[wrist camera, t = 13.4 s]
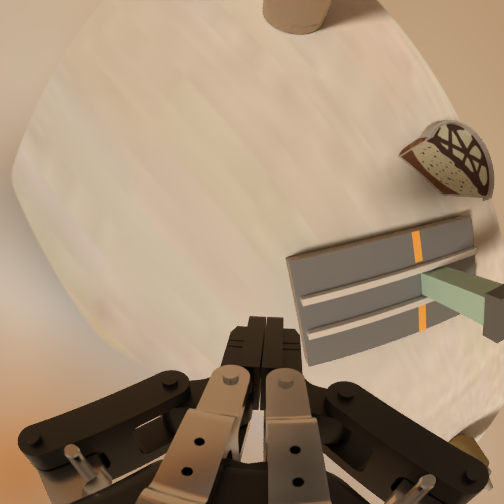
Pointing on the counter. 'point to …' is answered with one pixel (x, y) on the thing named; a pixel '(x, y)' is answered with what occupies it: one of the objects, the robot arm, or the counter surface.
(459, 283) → the fader tab
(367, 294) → the slider console
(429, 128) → the food container
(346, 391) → the robot arm
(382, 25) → the counter surface
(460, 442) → the squeeze bottle
